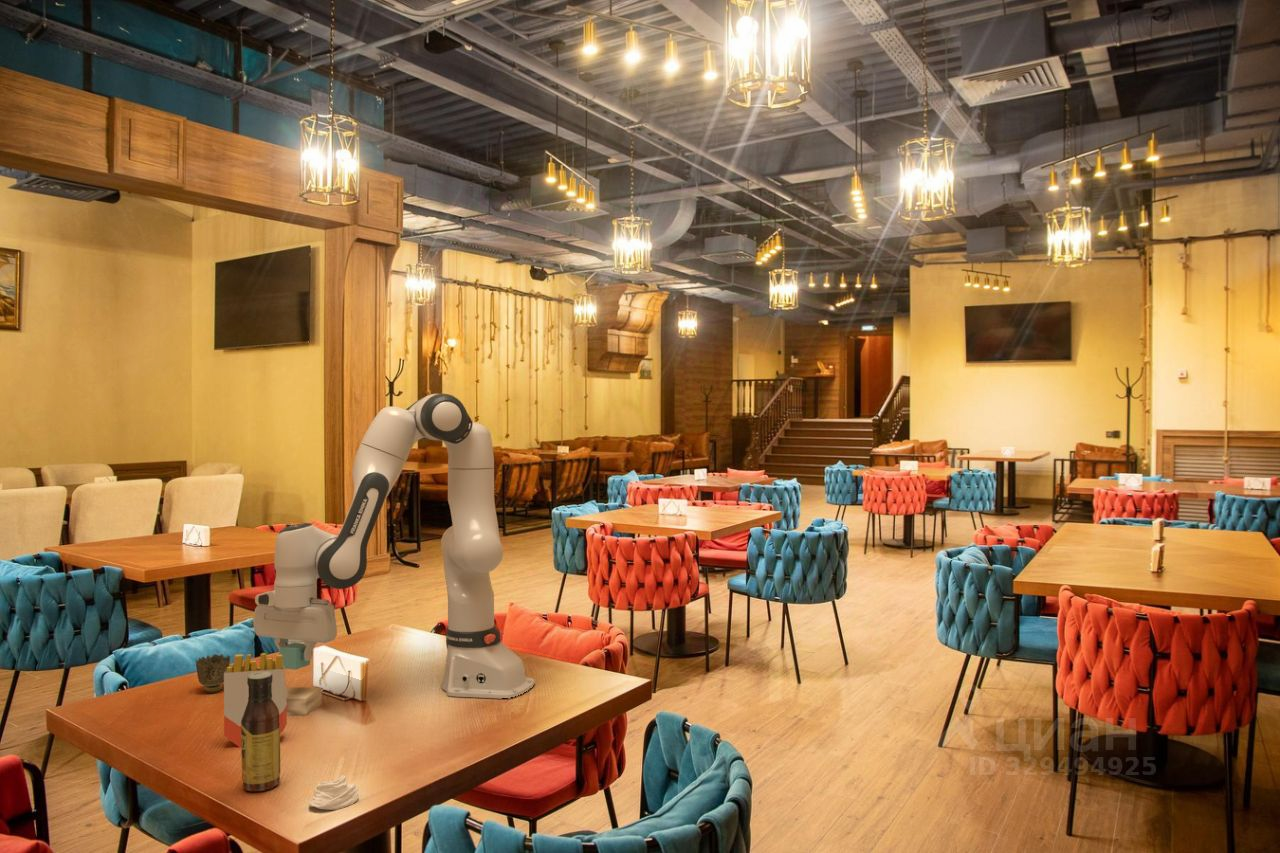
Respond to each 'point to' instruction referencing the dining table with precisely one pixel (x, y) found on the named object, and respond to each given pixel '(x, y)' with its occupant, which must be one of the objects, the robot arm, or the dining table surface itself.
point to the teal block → (293, 656)
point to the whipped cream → (334, 794)
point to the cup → (212, 671)
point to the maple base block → (302, 700)
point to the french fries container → (239, 692)
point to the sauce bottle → (260, 736)
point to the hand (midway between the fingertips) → (295, 658)
